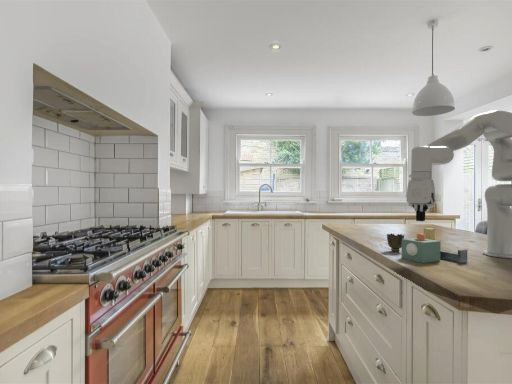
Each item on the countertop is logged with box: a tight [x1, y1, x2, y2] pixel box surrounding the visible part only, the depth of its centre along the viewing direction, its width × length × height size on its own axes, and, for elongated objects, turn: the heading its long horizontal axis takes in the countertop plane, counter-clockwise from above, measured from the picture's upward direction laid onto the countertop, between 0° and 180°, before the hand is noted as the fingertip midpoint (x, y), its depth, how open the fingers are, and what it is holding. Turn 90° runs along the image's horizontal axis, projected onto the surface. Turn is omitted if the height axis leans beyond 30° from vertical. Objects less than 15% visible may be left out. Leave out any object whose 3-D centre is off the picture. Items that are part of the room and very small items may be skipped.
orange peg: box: [416, 233, 425, 241], centre depth 123 cm, size 3×3×8 cm
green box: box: [401, 237, 441, 264], centre depth 123 cm, size 10×10×8 cm
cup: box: [386, 233, 405, 253], centre depth 139 cm, size 8×7×8 cm
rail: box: [440, 248, 468, 264], centre depth 127 cm, size 4×19×5 cm, turn 24°
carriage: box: [423, 227, 436, 240], centre depth 131 cm, size 6×6×11 cm
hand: (420, 220), depth 123 cm, fingers closed
